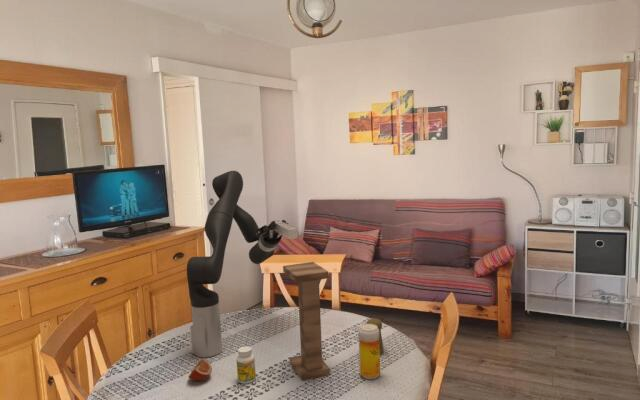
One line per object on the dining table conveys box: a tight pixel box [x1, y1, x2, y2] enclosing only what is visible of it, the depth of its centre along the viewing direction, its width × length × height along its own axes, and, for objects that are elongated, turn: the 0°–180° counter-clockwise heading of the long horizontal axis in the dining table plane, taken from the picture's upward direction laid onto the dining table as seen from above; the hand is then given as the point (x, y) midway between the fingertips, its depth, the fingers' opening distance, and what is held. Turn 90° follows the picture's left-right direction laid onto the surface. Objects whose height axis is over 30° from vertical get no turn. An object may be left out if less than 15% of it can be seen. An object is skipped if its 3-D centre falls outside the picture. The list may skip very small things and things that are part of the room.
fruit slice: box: [188, 357, 213, 382], centre depth 143 cm, size 8×7×5 cm
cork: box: [365, 318, 385, 356], centre depth 156 cm, size 6×6×11 cm
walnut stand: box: [282, 261, 331, 382], centre depth 145 cm, size 13×10×32 cm
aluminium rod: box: [274, 220, 299, 240], centre depth 161 cm, size 20×3×3 cm, turn 21°
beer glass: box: [358, 323, 381, 380], centre depth 140 cm, size 6×6×15 cm
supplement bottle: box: [235, 346, 257, 385], centre depth 141 cm, size 5×5×10 cm
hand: (279, 222), depth 166 cm, fingers closed on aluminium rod, 3 cm apart
